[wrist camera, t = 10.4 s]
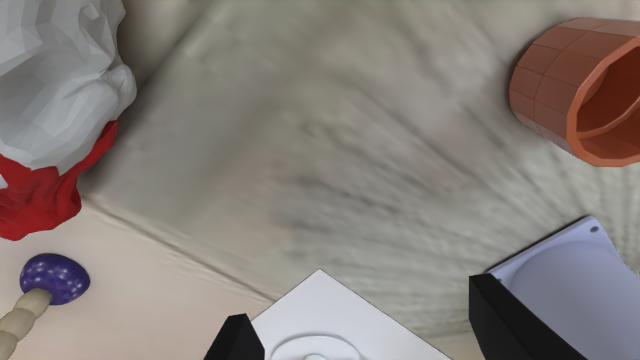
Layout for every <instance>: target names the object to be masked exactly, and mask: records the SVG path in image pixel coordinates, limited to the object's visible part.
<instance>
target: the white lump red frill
mask: <svg viewBox="0 0 640 360" xmlns="http://www.w3.org/2000/svg"><path fill="white" fill-rule="evenodd" d="M125 13H126V12H125V9H124V6H123V3H122V0H0V237H1V238H5V239H8V240H12V241H18V240H21V239H22V238H23V237H25V236H26V235H27V234H29V233H33V232H37V231H45V230H53V229H54V228H56V227H57V226H58V225H60V224H61V223H63V222H65V221H67V220H69V219H70V218H72V217H74V216H76V215H77V214H78V213H79V212H80V210H81V207H82V206H81V199H80V195H79V193H78V190H77V188H76V183H77V176H78V175H79V174H80V172H82V171H83V170H85V169H87V168H88V167H90V166H92V165H94V164H95V163H96V162H97V161H98V159H99V158H100V157H101V156H102V155H103V154H104V153H105V151H107V150H108V149H110V148H111V147H112V146H113V144H114V140H115V137H116V133H117V130H118V126H119V124H118V120H116V119H117V118H118V117H119V115H120V114H121V113H122V112H123V110H124V109H126V108H127V107H128V106H129V105H130V104H131V103H132V102H133V101H134V99H135V98H136V93H137V88H136V83H135V78H134V75H133V73H132V71H131V69H130V68H129V67H128V66H126V65H124V63H123V62H122V60H121V58H120V56H119V54H118V48H117V38H116V33H117V28H118V24H119V23H120V22H121V21H122V20H123V18H124V17H125Z"/></svg>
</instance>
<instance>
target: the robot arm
mask: <svg viewBox="0 0 640 360" xmlns="http://www.w3.org/2000/svg"><path fill="white" fill-rule="evenodd" d="M469 320H470V323H471V326H472V328H473V331H474V333H475V336H476V338H477V341H478V343H479V346H480V348H481V351H482V353H483V355H484V357H485V359H486V360H640V277H639V276H638V275H636V274H635V273H634V272H633V271H632V270H631V269H630V268H628V267H627V266H626V265H625V263H624V261H623V260H622V258H621V257H620V255H619V253H618V252H617V250H616V248H615V247H614V245H613V243H612V242H611V240H610V238H609V237H608V235H607V234H606V232H605V230H604V229H603V227H602V225H601V224H600V222H599V221H598V220H597V219H596V218H595V217H593V216H588V217H585V218H583V219H582V220H580V221H578V222H576V223H574V224H572V225H571V226H569V227H567V228H565V229H563V230H562V231H560V232H558V233H556V234H554V235H553V236H551V237H549V238H547V239H545V240H543V241H542V242H540V243H538V244H536V245H534V246H533V247H531V248H529V249H527V250H525V251H524V252H522V253H520V254H518V255H516V256H514V257H513V258H511V259H509V260H507V261H505V262H504V263H502V264H500V265H498V266H496V267H495V268H493V269H491V270H489V271H488V272H487V273H485V274H479V275H473V276H469ZM203 360H265V349H264V347H263V345H262V343H261V341H260V339H259V337H258V335H257V333H256V331H255V329H254V328H253V326H252V324H251V322H250V320H249V318H248V316H247V314H246V313H244V314H238V315H232V316H228V318H227V319H226V321H225V323H224V324H223V326H222V328H221V329H220V331H219V333H218V335H217V336H216V338H215V340H214V342H213V343H212V345H211V347H210V349H209V350H208V352H207V354H206V356H205V357H204V359H203Z"/></svg>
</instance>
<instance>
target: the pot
mask: <svg viewBox="0 0 640 360" xmlns="http://www.w3.org/2000/svg"><path fill="white" fill-rule="evenodd" d="M509 96H510V106H511V109H512V111H513V112H514V114H515V115H516V117H517V119H518V120H519V121H520V122H521V123H522V124H524V125H525V126H527V127H529V128H530V129H532V130H533V131H535V132H537V133H538V134H540V135H541V136H543V137H545V138H546V139H548V140H549V141H551V142H553V143H554V144H556V145H557V146H559V147H561V148H562V149H564V150H565V151H567V152H569V153H570V154H572V155H573V156H575V157H577V158H579V159H581V160H583V161H585V162H587V163H589V164H591V165H593V166H596V167H622V166H626V165H629V164H633V163H636V162H640V21H634V20H622V19H610V18H594V17H580V18H579V17H578V18H575V19H572V20H569V21H567V22H564V23H561V24H559V25H556V26H554V27H552V28H551V29H550V30H548V31H547V32H546V33H544V34H543V35H542V36H541V37H539V38H538V39H537V40H535V41H534V42H533V43H532V45H530V47H529V48H528V49H527V51H526V52H525V54H524V55H523V56H522V58H521V59H520V61H519V62H518V63H517V66H515V69H514V72H513V75H512V78H511V81H510V85H509Z"/></svg>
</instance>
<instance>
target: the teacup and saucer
mask: <svg viewBox="0 0 640 360" xmlns="http://www.w3.org/2000/svg"><path fill="white" fill-rule="evenodd" d="M270 360H361V358H360V355H359V353H358V351H357V350H356V349H355V348H354V347H353V346H352V345H351V344H349V343H348V342H346V341H344V340H342V339H339V338H336V337H332V336H327V335H305V336H300V337H296V338H293V339H290V340H288V341H286V342H284V343H283V344H281V345H280V346H279V347H277V348H276V349H275V351H274V352H273V353H272V355H271V358H270Z"/></svg>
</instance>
